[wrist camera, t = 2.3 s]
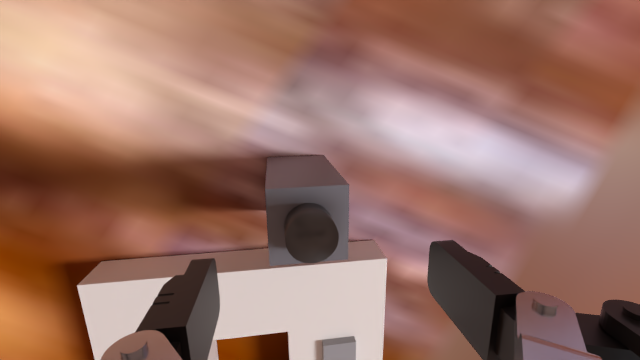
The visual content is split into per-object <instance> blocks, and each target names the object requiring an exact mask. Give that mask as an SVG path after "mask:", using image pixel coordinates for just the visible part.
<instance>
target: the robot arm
mask: <svg viewBox="0 0 640 360" xmlns="http://www.w3.org/2000/svg"><path fill="white" fill-rule="evenodd" d="M428 287H429V290H430V293H431V295H432V296H433V297H434V299H435V300H436V301H437V302H438V304H439V305H440V306H441V307H442V309H443V310H444V311H445V312H446V314H447V315H448V316H449V318H450V319H451V320H452V321H453V323H454V324H455V325H456V326H457V328H458V329H459V330H460V331H461V333H462V334H463V335H464V336H465V338H466V339H467V340H468V341H469V343H470V344H471V345H472V347H473V348H474V349H475V350H476V352H477V353H478V354H479V355H480V357H481V358H482V359H483V360H640V305H639V304H636V303H633V302H628V301H623V300H608V301H605V302H604V303H603V306H602V310H601V314H600V315H591V314H590V315H589V314H581V313H575V312H574V310H573V309H572V308H571V307H570V306H569V305H568V304H567V303H565V302H563V301H562V300H560V299H558V298H556V297H554V296H551V295H548V294H545V293H540V292H533V291H532V292H531V291H527V292H525V291H524V290H523V289H521V288H520V287H519V286H517V285H516V284H515V283H514V282H512V281H511V280H510V279H509V278H507V277H506V276H505V275H503V274H502V273H500V272H499V271H498V270H497V269H496V268H494V267H492V265H490V264H489V263H488V262H487V261H485V260H484V259H483V258H481V257H479V256H477V255H474V254H472V253H470V252H467V251H466V250H465V249H464V248H462V247H461V246H460V245H459V244H457V243H456V242H455V241H453V240H447V241H434V242H432V243H431V245H430V252H429V265H428ZM219 312H220V295H219V286H218V277H217V267H216V261H215V259H214V258H208V259H195V260H191V262H190V264H189V266H188V268H187V270H186V272H185V273H184V275H175V276H174V277H173V278H171V279H170V280H169V281H168V282H166V283H165V284H164V285H163V287H162V288H161V290H160V292H159V293H158V297H156V298H155V300H154V302H153V305H151V307H150V308H149V310H148V312H147V313H146V315H145V317H144V318H143V320H142V322H141V323H140V325H139V327H138V328H137V330H136V332H135V333H132V334H129V335H127V336H125V337H123V338H121V339H119V340H118V341H116V342H115V343H114V344H112V345H111V346H110V347H109V348H108V349H107V350H106V351H105V352H104V354H103V355H102V357H101V360H207V359H208V356H209V352H210V348H211V344H212V340H213V336H214V333H215V329H216V325H217V321H218V317H219Z"/></svg>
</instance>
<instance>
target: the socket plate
mask: <svg viewBox="0 0 640 360" xmlns="http://www.w3.org/2000/svg"><path fill="white" fill-rule="evenodd" d="M208 258H214V259H215V261H216V267H217V277H218V286H219V295H220V312H219V317H218V321H217V325H216V329H215V333H214V336H213V340H212V344H211V348H210V352H209V356H208V359H207V360H219V359H218V350H217V342H216V340H220V339H228V338H237V337H246V336H255V335H263V334H272V333H281V332H288V351H289V360H382V359H383V338H384V316H385V294H386V272H387V258H386V256H385V255H384V253H383V252H382V250H381V249H380V248H379V246H378V245H377V243H376V242H375V241H374V240H367V241H355V242H348V259H347V260H336V261H324V262H318V263H311V264H309V263H301V264H289V265H277V266H270V263H269V248H265V249H252V250H239V251H227V252H214V253H201V254H188V255H175V256H163V257H150V258H137V259H124V260H112V261H101V262H100V263H99V264H98V265H97V266H96V267H95V268H94V269H93V270H92V271H91V272H90V273H89V274H88V275H87V276H86V277H85V278H84V279H83V280H82V281H81V282H80V283H79V284H78V285H77V288H78V292H79V296H80V300H81V304H82V309H83V313H84V317H85V321H86V325H87V330H88V334H89V338H90V342H91V346H92V351H93V355H94V359H95V360H101V357H102V355H103V354H104V352H105V351H106V350H107V349H108V348H109V347H110V346H111V345H112V344H114V343H115V342H116V341H118V340H119V339H121V338H123V337H125V336H127V335H129V334H132V333H135V332H136V330H137V328H138V327H139V325H140V323H141V322H142V320H143V318H144V317H145V315H146V313H147V312H148V310H149V308H150V307H151V305H153V302H154V300H155V298H156V297H158V293H159V292H160V290H161V288H162V287H163V285H164V284H165V283H166V282H168V281H169V280H170V279H171V278H173V277H174V276H175V275H184V273H185V272H186V270H187V268H188V266H189V264H190V262H191V260H195V259H208Z"/></svg>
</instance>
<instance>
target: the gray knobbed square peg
mask: <svg viewBox="0 0 640 360" xmlns="http://www.w3.org/2000/svg"><path fill="white" fill-rule="evenodd" d="M265 197H266V213H267V230H268V247H269V263H270V266H277V265H289V264H301V263H309V264H311V263H318V262H324V261H336V260H347V259H348V230H349V184H348V183H347V182H346V181H345V179H344V178H343V177H342V176H341V175H340V174H339V173H338V171H337V170H336V169H335V168H334V167H333V166H332V164H331V163H330V162H329V161H328V160H327V159H326V157H325V156H324V155H311V156H285V157H267V169H266V183H265Z"/></svg>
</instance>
